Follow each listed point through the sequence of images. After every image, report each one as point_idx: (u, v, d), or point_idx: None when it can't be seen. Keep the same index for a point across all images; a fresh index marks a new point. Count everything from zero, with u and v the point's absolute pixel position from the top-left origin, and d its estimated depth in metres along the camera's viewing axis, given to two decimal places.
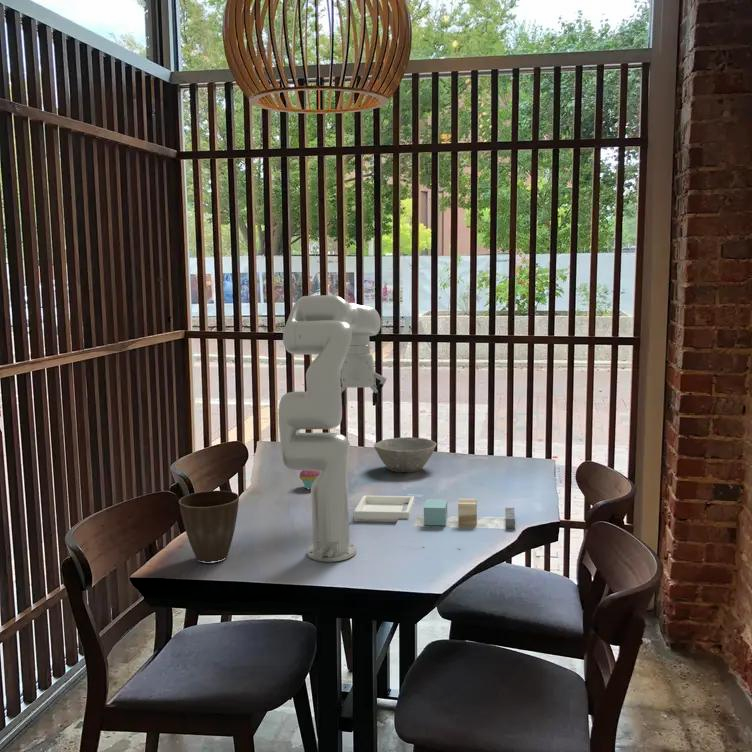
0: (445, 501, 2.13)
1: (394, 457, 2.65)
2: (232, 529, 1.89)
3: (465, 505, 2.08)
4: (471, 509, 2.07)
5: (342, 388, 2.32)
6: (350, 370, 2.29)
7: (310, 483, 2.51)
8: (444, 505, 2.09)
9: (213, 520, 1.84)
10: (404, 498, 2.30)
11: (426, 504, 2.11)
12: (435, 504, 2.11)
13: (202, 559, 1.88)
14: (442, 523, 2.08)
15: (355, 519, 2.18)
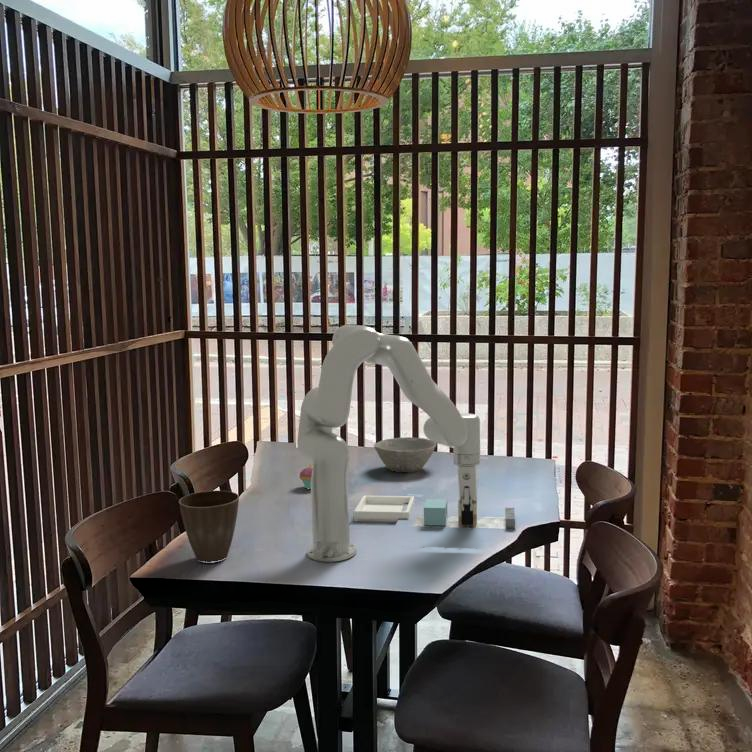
0: (445, 501, 2.13)
1: (394, 457, 2.65)
2: (232, 529, 1.89)
3: None
4: None
5: None
6: None
7: (310, 483, 2.51)
8: (444, 505, 2.09)
9: (213, 520, 1.84)
10: (404, 498, 2.30)
11: (426, 504, 2.11)
12: (435, 504, 2.11)
13: (202, 559, 1.88)
14: (442, 523, 2.08)
15: (355, 519, 2.18)
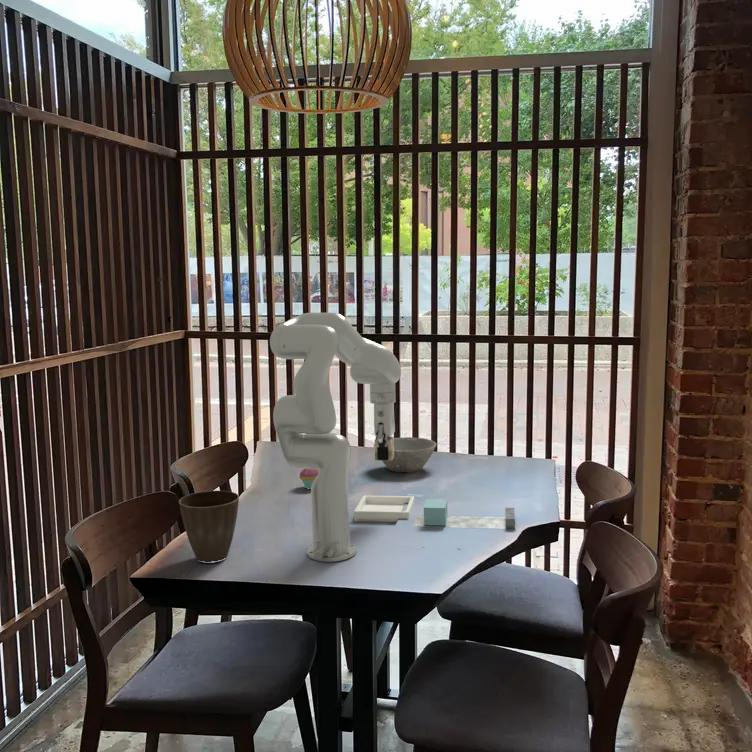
0: (445, 501, 2.13)
1: (394, 457, 2.65)
2: (232, 529, 1.89)
3: None
4: None
5: None
6: (391, 418, 2.18)
7: (310, 483, 2.51)
8: (444, 505, 2.09)
9: (213, 520, 1.84)
10: (404, 498, 2.30)
11: (426, 504, 2.11)
12: (435, 504, 2.11)
13: (202, 559, 1.88)
14: (442, 523, 2.08)
15: (355, 519, 2.18)
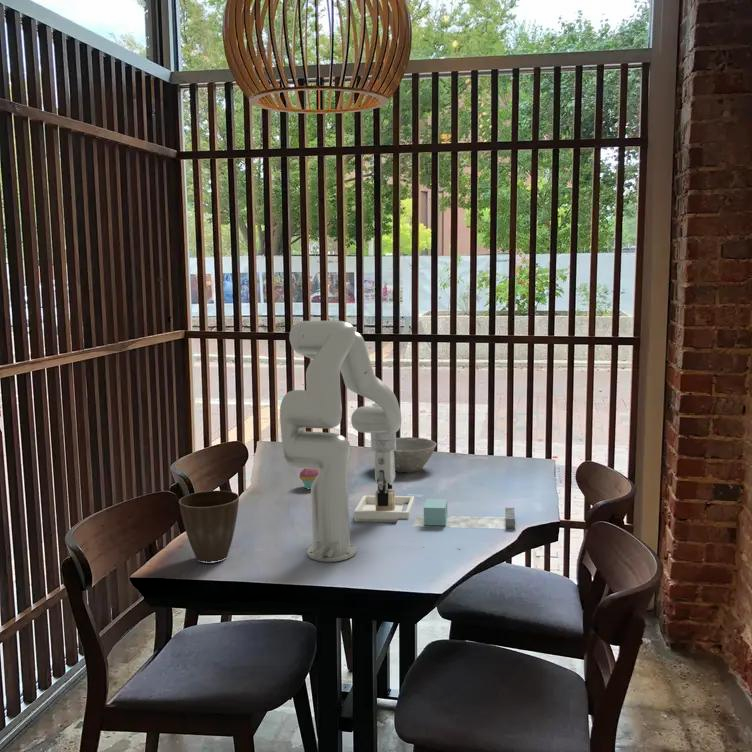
0: (445, 501, 2.13)
1: (394, 457, 2.65)
2: (232, 529, 1.89)
3: None
4: None
5: (387, 488, 2.19)
6: (392, 465, 2.20)
7: (310, 483, 2.51)
8: (444, 505, 2.09)
9: (213, 520, 1.84)
10: (404, 498, 2.30)
11: (426, 504, 2.11)
12: (435, 504, 2.11)
13: (202, 559, 1.88)
14: (442, 523, 2.08)
15: (355, 519, 2.18)
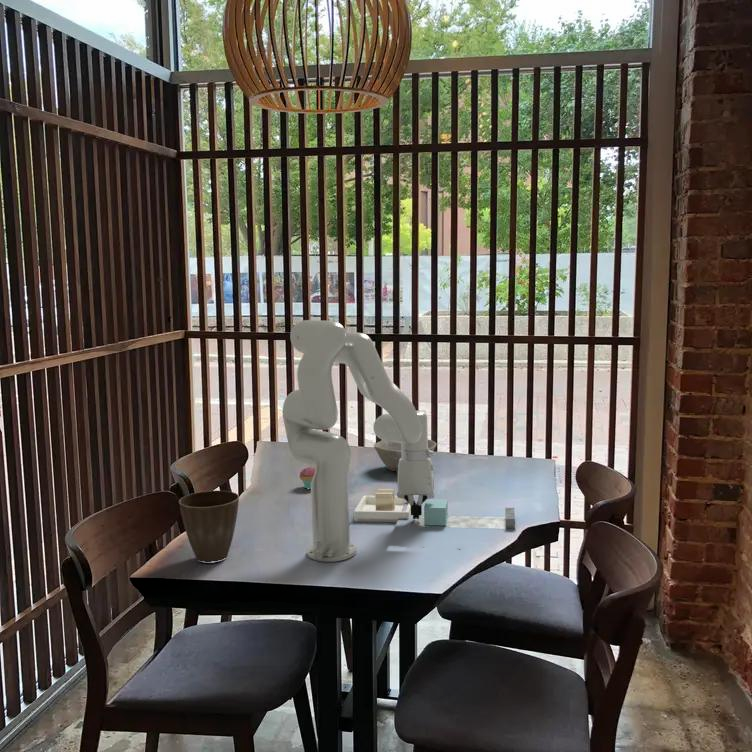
0: (445, 501, 2.13)
1: (394, 457, 2.65)
2: (232, 529, 1.89)
3: (382, 494, 2.21)
4: (387, 498, 2.21)
5: None
6: None
7: (310, 483, 2.51)
8: (444, 505, 2.09)
9: (213, 520, 1.84)
10: None
11: (426, 504, 2.11)
12: (435, 504, 2.11)
13: (202, 559, 1.88)
14: (442, 523, 2.08)
15: (355, 519, 2.18)
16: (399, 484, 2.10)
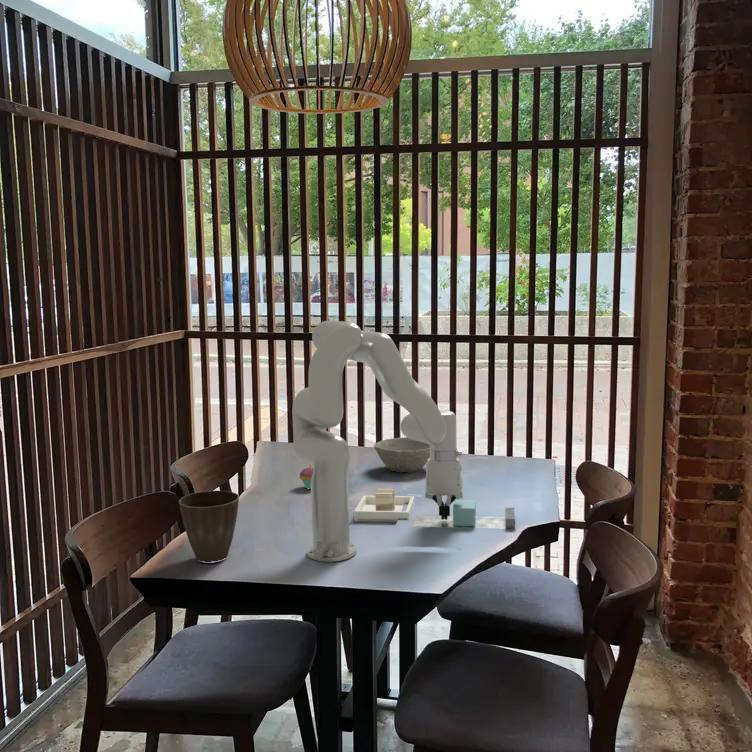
0: (474, 502, 2.12)
1: (394, 457, 2.65)
2: (232, 529, 1.89)
3: (382, 494, 2.21)
4: (387, 498, 2.21)
5: None
6: None
7: (310, 483, 2.51)
8: (473, 506, 2.08)
9: (213, 520, 1.84)
10: (404, 498, 2.30)
11: (455, 505, 2.10)
12: (464, 504, 2.10)
13: (202, 559, 1.88)
14: (472, 524, 2.06)
15: (355, 519, 2.18)
16: (427, 484, 2.09)
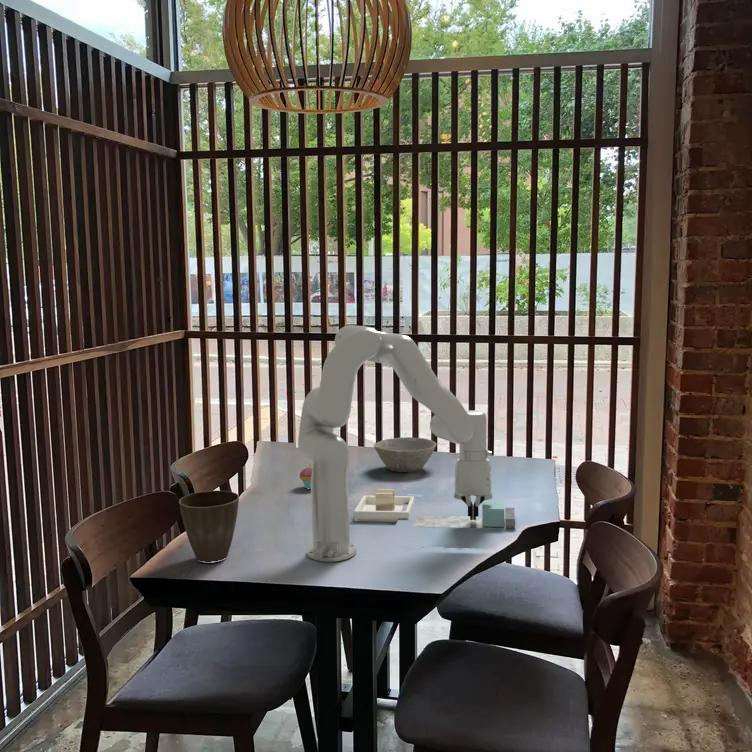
0: (502, 502, 2.11)
1: (394, 457, 2.65)
2: (232, 529, 1.89)
3: (382, 494, 2.21)
4: (387, 498, 2.21)
5: None
6: None
7: (310, 483, 2.51)
8: (502, 506, 2.07)
9: (213, 520, 1.84)
10: (404, 498, 2.30)
11: (484, 505, 2.08)
12: (493, 505, 2.08)
13: (202, 559, 1.88)
14: (501, 525, 2.05)
15: (355, 519, 2.18)
16: (457, 485, 2.08)
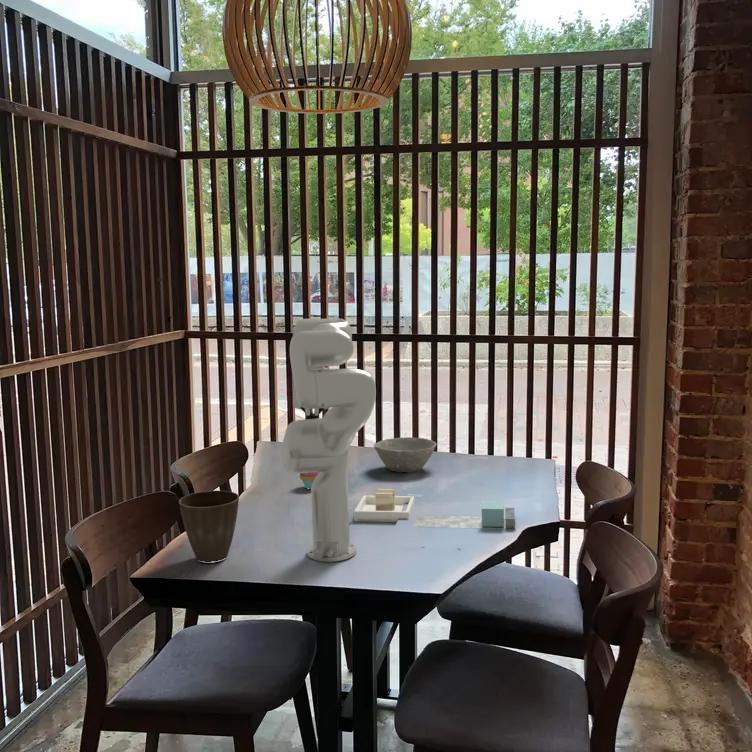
0: (502, 502, 2.11)
1: (394, 457, 2.65)
2: (232, 529, 1.89)
3: (382, 494, 2.21)
4: (387, 498, 2.21)
5: None
6: None
7: (310, 483, 2.51)
8: (502, 506, 2.07)
9: (213, 520, 1.84)
10: (404, 498, 2.30)
11: (483, 505, 2.08)
12: (492, 505, 2.08)
13: (202, 559, 1.88)
14: (501, 525, 2.05)
15: (355, 519, 2.18)
16: (295, 393, 2.05)
